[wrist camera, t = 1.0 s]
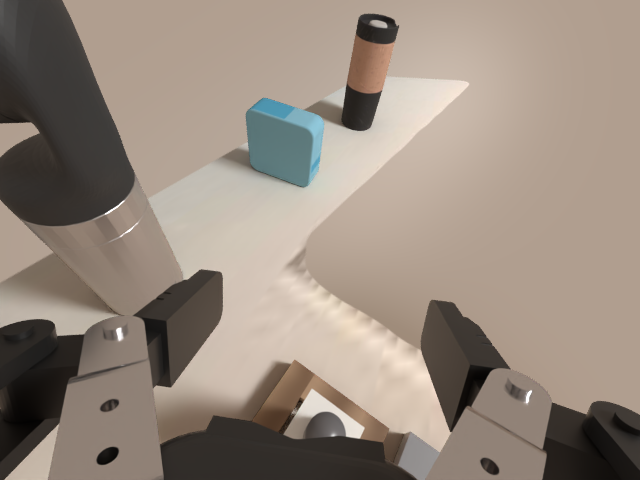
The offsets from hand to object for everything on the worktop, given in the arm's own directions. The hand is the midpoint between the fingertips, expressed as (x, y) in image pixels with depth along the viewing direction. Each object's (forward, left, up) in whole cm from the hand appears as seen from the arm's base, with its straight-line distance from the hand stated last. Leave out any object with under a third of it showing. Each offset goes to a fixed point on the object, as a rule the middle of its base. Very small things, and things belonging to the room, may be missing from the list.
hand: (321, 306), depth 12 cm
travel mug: (-23, +56, -27) cm, 66 cm away
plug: (+3, -2, -27) cm, 27 cm away
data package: (-25, +31, -27) cm, 48 cm away
